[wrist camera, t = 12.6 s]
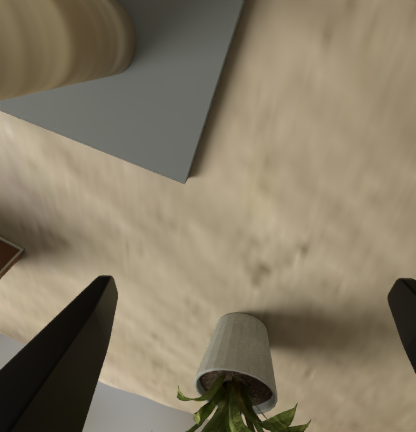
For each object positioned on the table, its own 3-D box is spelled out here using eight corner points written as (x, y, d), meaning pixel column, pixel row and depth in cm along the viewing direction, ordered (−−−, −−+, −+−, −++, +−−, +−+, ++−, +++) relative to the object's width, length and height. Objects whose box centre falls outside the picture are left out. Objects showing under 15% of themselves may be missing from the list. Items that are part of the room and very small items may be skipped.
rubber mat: (270, -77, 13) (270, -85, 12) (188, 178, 21) (184, 184, 20) (-13, -194, 13) (-33, -210, 12) (11, 107, 21) (0, 110, 20)
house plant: (305, 387, 32) (328, 644, 18) (187, 365, 34) (131, 577, 21) (330, 299, 24) (400, 628, 11) (177, 280, 27) (77, 526, 13)
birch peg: (119, -20, 14) (-271, -166, 4) (145, 66, 16) (-77, 113, 6) (57, 5, 16) (-371, -63, 5) (88, 82, 18) (-181, 144, 7)
